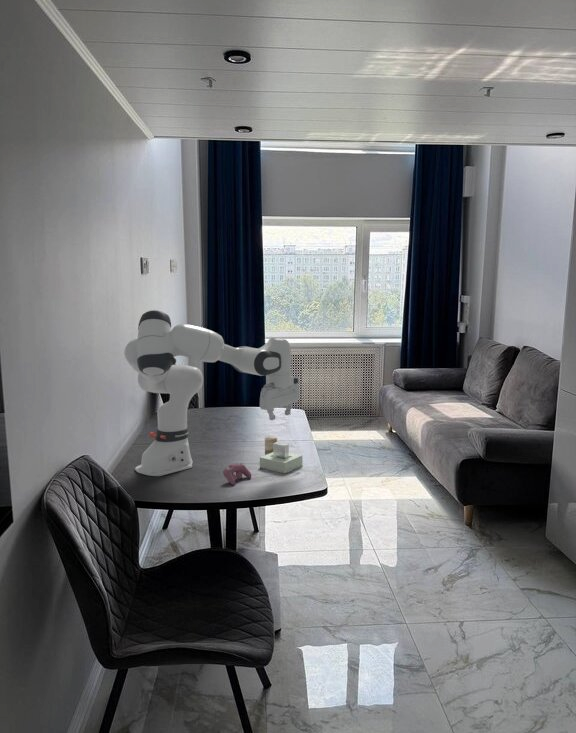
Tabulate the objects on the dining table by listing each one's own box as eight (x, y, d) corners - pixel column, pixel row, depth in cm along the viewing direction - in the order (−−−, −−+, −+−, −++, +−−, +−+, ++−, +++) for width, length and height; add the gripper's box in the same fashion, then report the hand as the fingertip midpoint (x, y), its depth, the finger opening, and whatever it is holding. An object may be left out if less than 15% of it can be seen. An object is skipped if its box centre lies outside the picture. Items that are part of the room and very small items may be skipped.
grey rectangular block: (284, 468, 222) (284, 445, 221) (273, 466, 226) (273, 443, 224) (288, 467, 224) (288, 444, 223) (277, 464, 228) (277, 441, 226)
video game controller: (245, 480, 215) (238, 462, 216) (253, 477, 212) (246, 458, 213) (226, 488, 207) (219, 469, 208) (234, 484, 205) (227, 465, 206)
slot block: (285, 473, 217) (284, 462, 217) (259, 467, 224) (259, 457, 224) (302, 465, 226) (302, 455, 225) (277, 460, 233) (277, 450, 232)
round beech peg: (272, 460, 233) (271, 440, 231) (262, 458, 236) (262, 438, 234) (280, 457, 237) (279, 438, 235) (270, 455, 240) (269, 436, 238)
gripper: (268, 386, 210) (269, 424, 212) (302, 378, 226) (302, 413, 229) (255, 384, 214) (256, 421, 216) (288, 376, 230) (289, 411, 232)
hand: (280, 417), depth 222 cm, fingers open, 8 cm apart
